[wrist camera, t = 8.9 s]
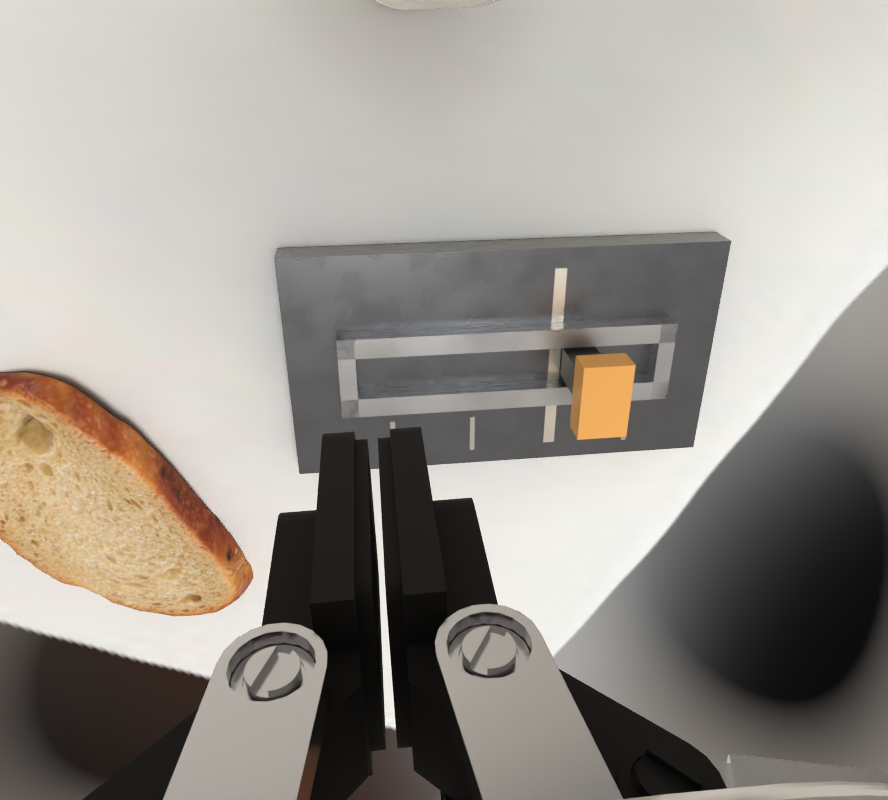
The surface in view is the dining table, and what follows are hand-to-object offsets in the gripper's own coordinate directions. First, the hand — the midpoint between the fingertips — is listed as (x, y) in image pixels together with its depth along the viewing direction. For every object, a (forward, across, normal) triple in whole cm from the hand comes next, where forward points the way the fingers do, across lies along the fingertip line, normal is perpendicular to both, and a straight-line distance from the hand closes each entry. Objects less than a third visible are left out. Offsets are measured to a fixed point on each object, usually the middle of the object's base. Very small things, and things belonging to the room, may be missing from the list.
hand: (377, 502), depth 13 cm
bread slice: (+31, +17, +21) cm, 41 cm away
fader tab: (+29, -12, +12) cm, 33 cm away
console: (+31, -8, +12) cm, 34 cm away
